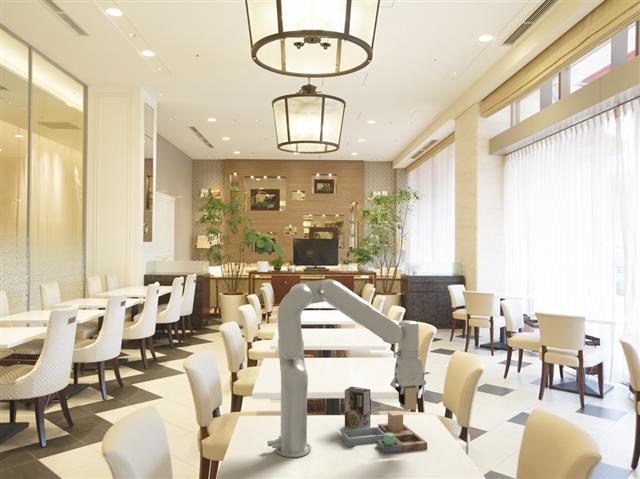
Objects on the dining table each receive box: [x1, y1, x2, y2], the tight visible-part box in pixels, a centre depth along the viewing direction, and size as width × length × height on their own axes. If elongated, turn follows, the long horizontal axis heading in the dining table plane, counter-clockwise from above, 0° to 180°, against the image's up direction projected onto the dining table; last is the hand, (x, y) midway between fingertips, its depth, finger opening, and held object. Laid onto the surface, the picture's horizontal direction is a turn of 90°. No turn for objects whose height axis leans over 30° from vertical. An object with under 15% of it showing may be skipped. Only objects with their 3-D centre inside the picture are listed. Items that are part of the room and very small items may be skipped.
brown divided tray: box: [377, 422, 428, 453], centre depth 187 cm, size 10×22×3 cm, turn 16°
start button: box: [384, 433, 395, 446], centre depth 177 cm, size 4×4×5 cm
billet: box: [399, 386, 418, 411], centre depth 182 cm, size 4×4×8 cm
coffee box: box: [344, 386, 371, 430], centre depth 199 cm, size 9×6×16 cm
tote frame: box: [340, 426, 384, 448], centre depth 187 cm, size 15×9×3 cm, turn 106°
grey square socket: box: [376, 439, 403, 455], centre depth 177 cm, size 7×7×3 cm
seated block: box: [387, 410, 404, 432], centre depth 192 cm, size 4×4×8 cm
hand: (408, 402), depth 182 cm, fingers closed on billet, 4 cm apart
